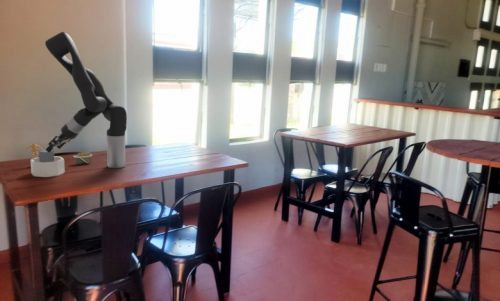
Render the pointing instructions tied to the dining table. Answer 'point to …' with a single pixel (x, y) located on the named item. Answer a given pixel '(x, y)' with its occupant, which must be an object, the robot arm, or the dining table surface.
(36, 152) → the figurine
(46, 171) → the white round bowl
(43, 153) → the grey tall block
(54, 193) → the dining table surface
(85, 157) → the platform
